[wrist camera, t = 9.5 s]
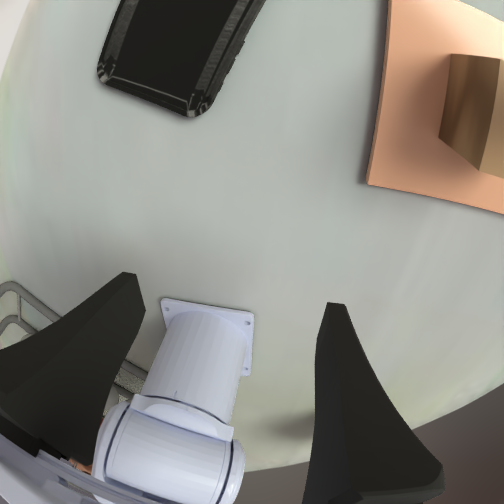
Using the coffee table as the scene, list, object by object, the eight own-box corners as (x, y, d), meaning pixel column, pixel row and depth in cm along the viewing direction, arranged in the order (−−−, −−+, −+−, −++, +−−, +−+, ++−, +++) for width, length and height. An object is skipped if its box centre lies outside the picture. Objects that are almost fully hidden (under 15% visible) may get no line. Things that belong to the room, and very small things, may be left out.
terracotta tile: (514, 213, 16) (519, 218, 15) (365, 179, 17) (367, 184, 16) (550, 55, 9) (557, 57, 8) (388, -19, 10) (392, -22, 9)
